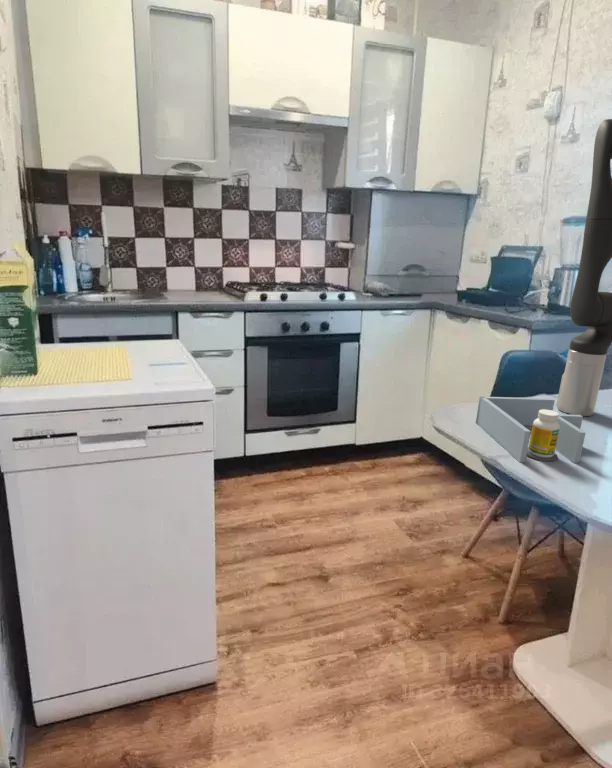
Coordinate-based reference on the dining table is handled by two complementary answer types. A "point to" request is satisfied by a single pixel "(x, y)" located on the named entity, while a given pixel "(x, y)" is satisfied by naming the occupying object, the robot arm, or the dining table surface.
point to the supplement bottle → (544, 434)
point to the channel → (512, 413)
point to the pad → (542, 457)
